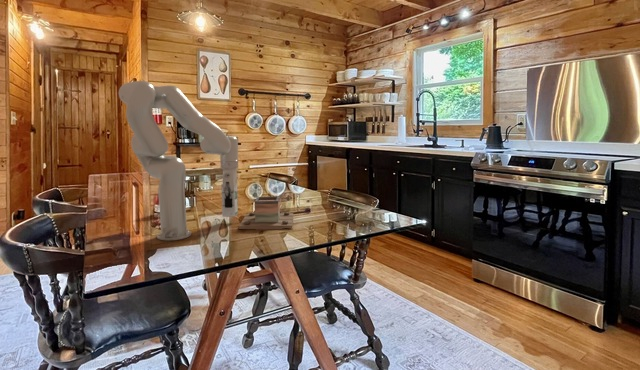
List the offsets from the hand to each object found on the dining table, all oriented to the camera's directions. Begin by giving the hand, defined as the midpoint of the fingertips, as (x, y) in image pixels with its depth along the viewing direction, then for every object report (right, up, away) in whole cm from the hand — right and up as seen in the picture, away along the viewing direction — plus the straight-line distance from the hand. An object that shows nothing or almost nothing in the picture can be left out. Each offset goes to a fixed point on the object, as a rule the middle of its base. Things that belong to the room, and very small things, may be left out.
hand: (229, 205), depth 174 cm
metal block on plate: (+17, -8, +2) cm, 18 cm away
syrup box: (0, -5, +1) cm, 5 cm away
